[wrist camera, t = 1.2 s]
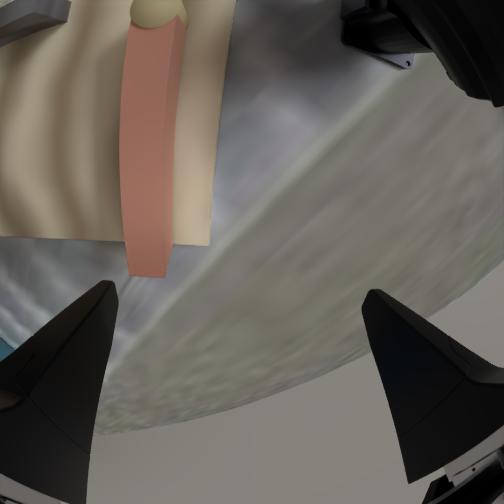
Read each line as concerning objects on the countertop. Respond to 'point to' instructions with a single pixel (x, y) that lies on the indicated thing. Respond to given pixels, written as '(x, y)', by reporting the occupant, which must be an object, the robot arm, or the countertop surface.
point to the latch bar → (150, 131)
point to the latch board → (98, 118)
